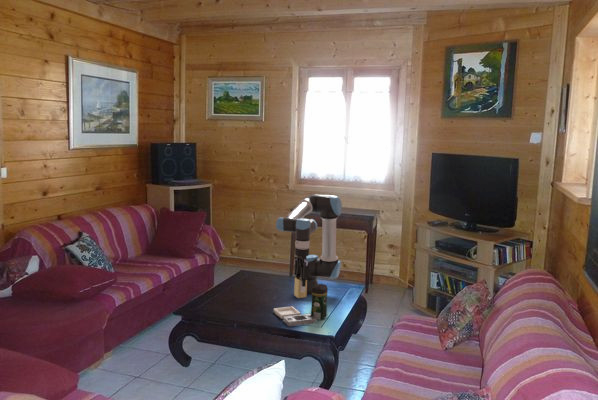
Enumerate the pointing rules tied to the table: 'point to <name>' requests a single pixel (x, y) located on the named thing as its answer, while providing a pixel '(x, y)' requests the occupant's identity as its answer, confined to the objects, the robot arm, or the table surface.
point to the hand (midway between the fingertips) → (300, 290)
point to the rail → (299, 319)
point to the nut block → (297, 288)
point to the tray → (286, 312)
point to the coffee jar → (319, 301)
